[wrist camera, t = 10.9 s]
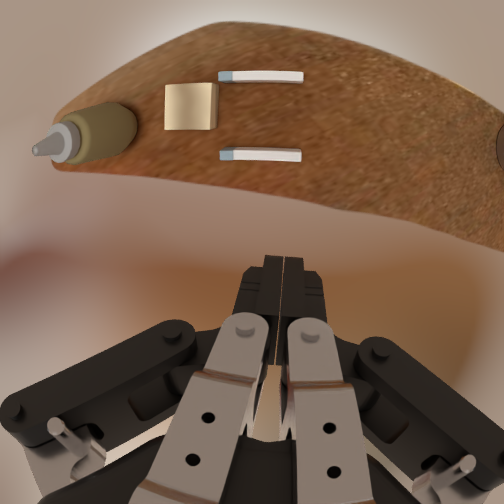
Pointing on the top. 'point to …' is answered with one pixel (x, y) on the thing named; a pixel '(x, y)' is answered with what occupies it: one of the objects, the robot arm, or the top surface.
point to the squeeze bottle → (89, 134)
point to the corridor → (260, 152)
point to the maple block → (191, 106)
